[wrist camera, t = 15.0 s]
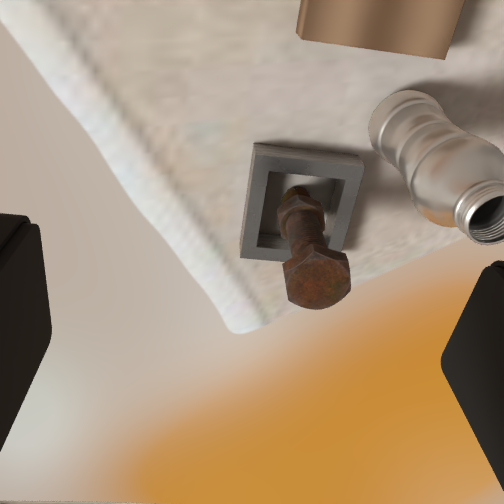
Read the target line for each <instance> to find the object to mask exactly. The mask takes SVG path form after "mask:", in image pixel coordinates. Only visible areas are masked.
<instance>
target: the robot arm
mask: <svg viewBox="0 0 504 504" xmlns="http://www.w3.org/2000/svg"><path fill="white" fill-rule="evenodd" d="M51 334H52V325H51V316H50V308H49V300H48V292H47V284H46V275H45V267H44V259H43V251H42V243H41V235H40V228H39V226H38V225H37V224H31V223H30V220H29V218H28V217H27V216H23V215H13V214H3V213H2V214H1V213H0V451H1V449H2V447H3V445H4V443H5V440H6V438H7V436H8V434H9V431H10V429H11V427H12V425H13V423H14V421H15V418H16V416H17V414H18V412H19V410H20V407H21V405H22V403H23V401H24V399H25V396H26V394H27V392H28V390H29V388H30V385H31V383H32V381H33V379H34V376H35V374H36V372H37V370H38V368H39V366H40V363H41V361H42V359H43V357H44V355H45V352H46V350H47V348H48V346H49V343H50V340H51ZM441 368H442V371H443V373H444V375H445V377H446V379H447V381H448V383H449V385H450V387H451V389H452V391H453V393H454V394H455V397H456V398H457V401H458V402H459V404H460V406H461V408H462V410H463V412H464V414H465V416H466V418H467V420H468V422H469V424H470V426H471V428H472V430H473V432H474V434H475V436H476V438H477V440H478V442H479V444H480V446H481V448H482V450H483V452H484V454H485V455H486V457H487V459H488V461H489V463H490V465H491V467H492V469H493V471H494V473H495V475H496V477H497V479H498V481H499V483H500V485H501V487H502V489H503V491H504V261H499V260H498V261H495V262H494V263H492V264H491V266H488V267H486V268H485V269H484V270H483V271H482V273H481V275H480V277H479V279H478V281H477V283H476V285H475V287H474V289H473V292H472V294H471V296H470V298H469V300H468V302H467V304H466V306H465V308H464V310H463V312H462V314H461V316H460V319H459V321H458V323H457V325H456V327H455V329H454V331H453V333H452V335H451V337H450V339H449V341H448V343H447V345H446V347H445V350H444V352H443V354H442V357H441ZM0 504H155V503H118V502H117V503H116V502H115V503H114V502H73V501H71V502H70V501H0Z"/></svg>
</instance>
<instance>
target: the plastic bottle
mask: <svg viewBox="0 0 504 504" xmlns="http://www.w3.org/2000/svg"><path fill="white" fill-rule="evenodd" d="M369 137H370V141H371V144H372V147H373V149H374V150H375V152H376V153H377V154H378V155H379V156H380V157H381V158H383V159H384V160H385V161H387V162H389V163H390V164H392V165H393V166H394V167H395V168H396V169H397V170H398V171H399V172H400V173H401V175H402V177H403V179H404V180H405V182H406V184H407V187H408V190H409V193H410V195H411V198H412V201H413V203H414V205H415V207H416V208H417V210H418V212H419V213H420V214H421V215H422V216H423V217H424V218H426V219H427V220H429V221H431V222H433V223H435V224H437V225H440V226H443V227H458V228H459V229H460V230H461V231H462V232H463V233H465V234H466V235H467V236H468V237H469V238H470V239H471V240H473V241H474V242H476V243H478V244H481V245H493V244H498V243H501V242H503V241H504V154H503V153H502V152H501V150H500V149H499V148H498V147H496V146H495V145H494V144H492V143H490V142H488V141H487V140H485V139H482V138H480V137H477V136H475V135H472V134H470V133H467V132H465V131H463V130H462V129H460V128H459V127H457V126H455V125H454V124H452V123H451V121H450V120H449V119H448V118H447V117H446V116H445V113H444V111H443V109H442V108H441V106H440V105H439V103H438V102H437V101H436V100H435V99H434V98H433V97H432V96H430V95H428V94H426V93H424V92H419V91H414V90H404V91H399V92H396V93H394V94H392V95H390V96H388V97H387V98H385V99H384V100H383V101H382V102H381V103H380V104H379V105H378V106H377V108H376V109H375V111H374V112H373V114H372V116H371V119H370V122H369Z"/></svg>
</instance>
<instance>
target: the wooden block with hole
mask: <svg viewBox="0 0 504 504" xmlns="http://www.w3.org/2000/svg"><path fill="white" fill-rule="evenodd" d="M464 1H465V0H301V4H300V10H299V16H298V22H297V28H296V33H297V34H298V36H299V37H300V38H301V39H302V40H309V41H316V42H323V43H330V44H337V45H344V46H351V47H358V48H365V49H372V50H379V51H386V52H393V53H400V54H407V55H414V56H421V57H428V58H435V59H442V60H445V58H446V55H447V52H448V49H449V46H450V43H451V40H452V37H453V34H454V31H455V28H456V25H457V22H458V19H459V16H460V13H461V10H462V7H463V4H464Z"/></svg>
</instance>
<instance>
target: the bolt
mask: <svg viewBox="0 0 504 504" xmlns="http://www.w3.org/2000/svg"><path fill="white" fill-rule="evenodd" d="M277 216H278V222H279V228H280V234H281V237H282V238H284V239H286V240H288V241H289V246H290V251H291V255H292V258H290V259H289V260H287V261H286V262H284V263H283V264H282V265H283V271H284V277H285V283H286V289H287V295H288V300H289V301H290V302H292V303H294V304H296V305H298V306H301V307H303V308H307V309H315V310H316V309H324V308H328V307H330V306H332V305H334V304H336V303H337V302H339V301H340V300H342V299H343V298H344V297H345V296H346V295H347V294H348V293H349V292H350V290H351V279H350V268H349V262H348V259H347V256H346V254H345V253H342V252H339V251H335V250H332V249H329V248H328V246H327V244H326V241H325V238H324V236H323V233H322V232H323V231H324V230H325V220H324V212H323V207H322V204H321V202H319V201H317V200H315V199H313V198H311V197H310V195H309V193H308V192H307V190H305V189H303V188H300V187H297V189H295V190H294V188H290V189H288V190H287V192H286V193H285V195H284V196H283V197H282V200H281V206H280V207H279V208H278V209H277Z"/></svg>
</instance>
